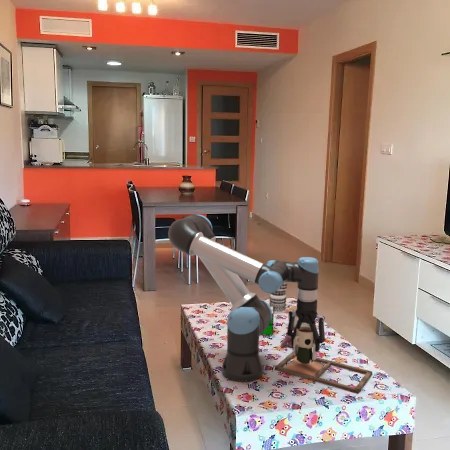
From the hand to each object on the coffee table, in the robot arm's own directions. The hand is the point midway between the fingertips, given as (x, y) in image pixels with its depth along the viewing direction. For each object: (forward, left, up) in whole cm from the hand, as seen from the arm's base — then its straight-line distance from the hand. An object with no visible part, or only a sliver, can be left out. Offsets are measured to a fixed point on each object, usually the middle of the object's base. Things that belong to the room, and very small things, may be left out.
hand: (304, 356), depth 187 cm
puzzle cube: (+23, +31, -5) cm, 39 cm away
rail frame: (0, -7, -4) cm, 9 cm away
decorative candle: (+51, +37, -4) cm, 63 cm away
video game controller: (+13, +11, -5) cm, 17 cm away
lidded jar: (+37, +19, -4) cm, 42 cm away
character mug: (0, 0, -2) cm, 2 cm away
